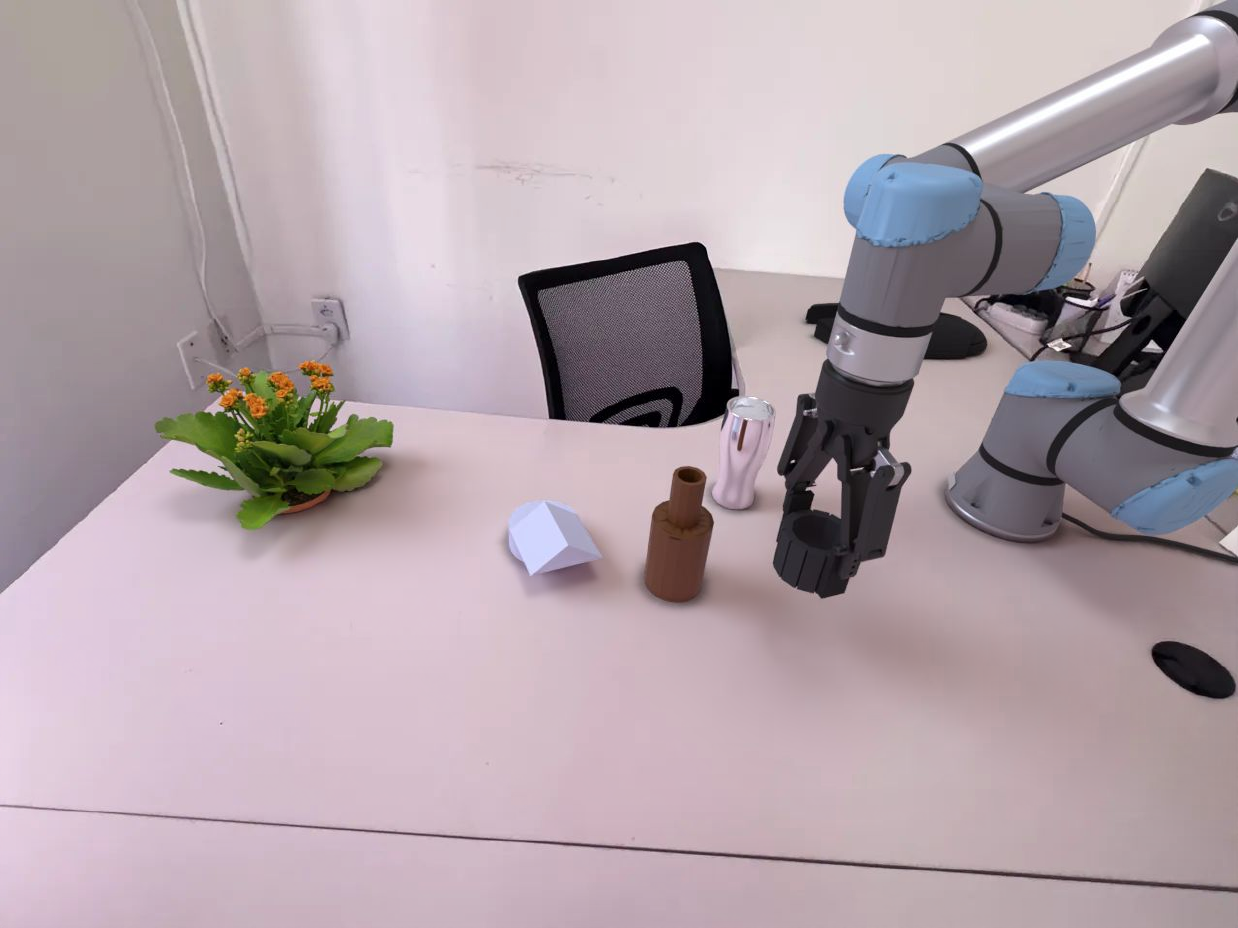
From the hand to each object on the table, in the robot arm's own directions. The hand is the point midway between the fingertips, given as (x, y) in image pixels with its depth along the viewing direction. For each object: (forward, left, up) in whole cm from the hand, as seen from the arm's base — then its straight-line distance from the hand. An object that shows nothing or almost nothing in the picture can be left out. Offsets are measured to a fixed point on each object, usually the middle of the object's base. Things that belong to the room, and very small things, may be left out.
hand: (808, 565), depth 68 cm
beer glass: (+10, -24, -11) cm, 28 cm away
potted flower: (+67, 0, -11) cm, 68 cm away
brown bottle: (+14, -4, -11) cm, 18 cm away
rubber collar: (0, 0, 0) cm, 0 cm away
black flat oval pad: (-15, -101, -11) cm, 102 cm away
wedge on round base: (+30, -3, -11) cm, 32 cm away
